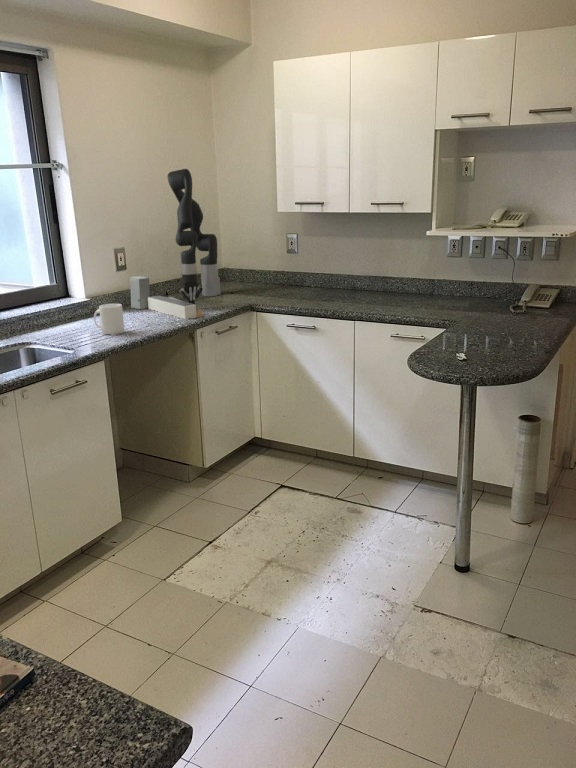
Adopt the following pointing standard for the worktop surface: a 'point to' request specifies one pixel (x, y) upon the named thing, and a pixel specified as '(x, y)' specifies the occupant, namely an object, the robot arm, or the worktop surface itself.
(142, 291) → the skincare box
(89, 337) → the worktop surface
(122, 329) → the mug
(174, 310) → the long cream box
